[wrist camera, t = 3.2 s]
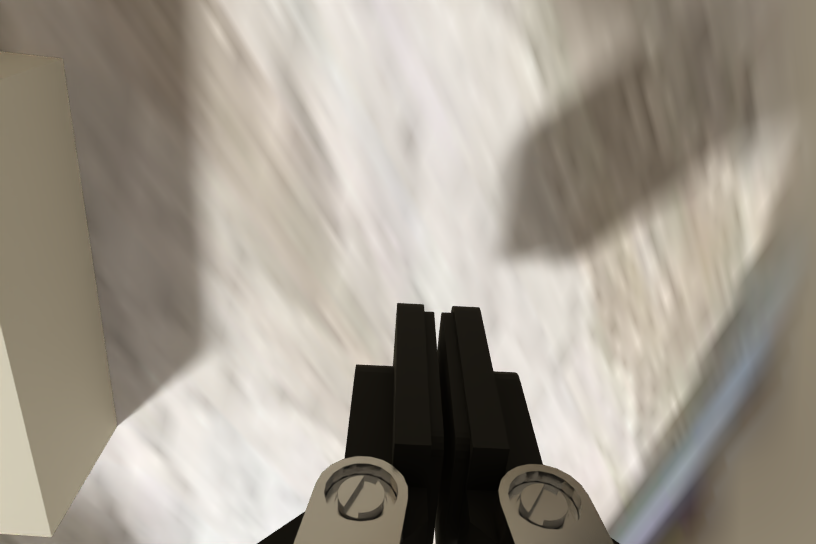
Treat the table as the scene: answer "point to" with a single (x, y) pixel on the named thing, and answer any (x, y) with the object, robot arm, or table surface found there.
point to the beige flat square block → (45, 306)
